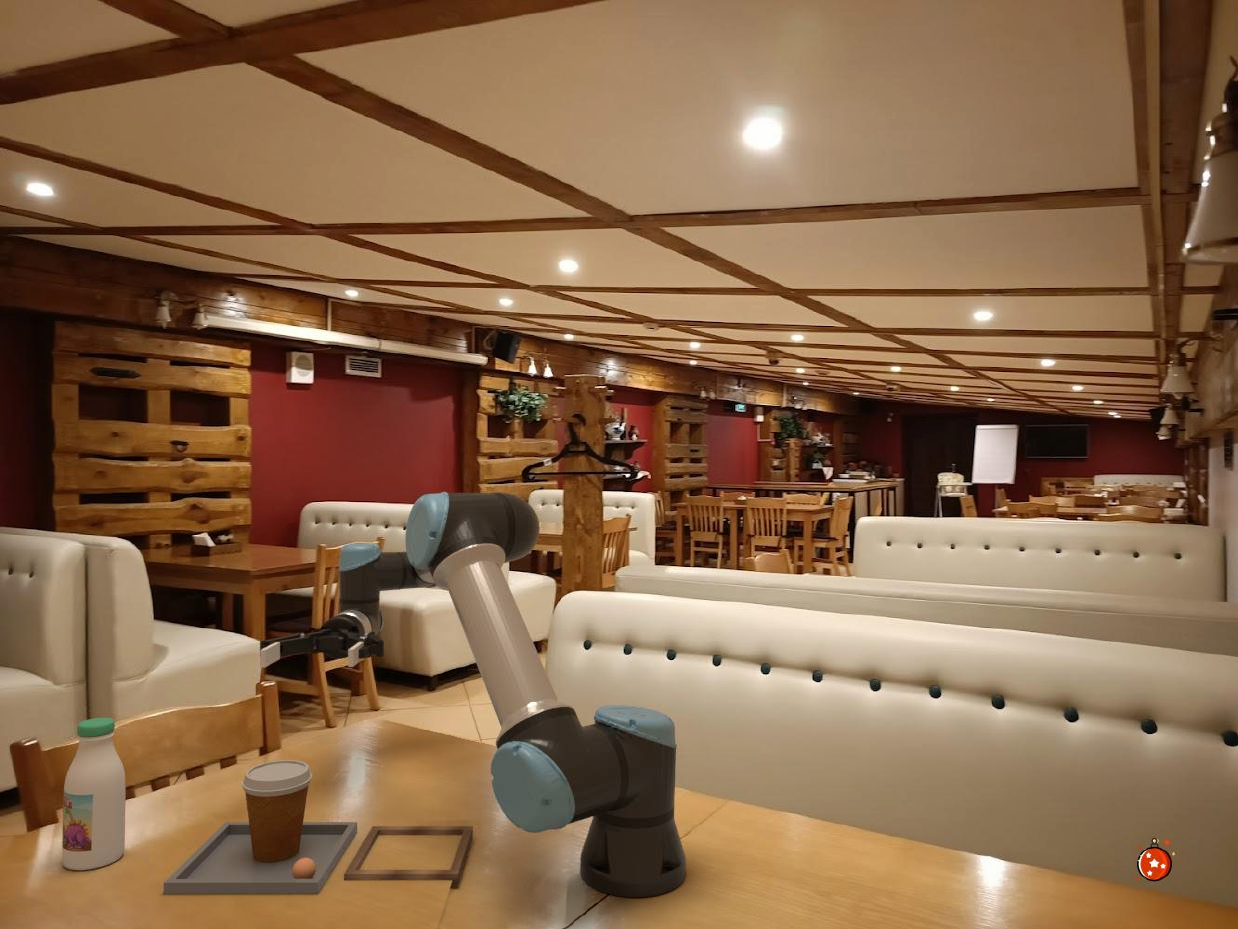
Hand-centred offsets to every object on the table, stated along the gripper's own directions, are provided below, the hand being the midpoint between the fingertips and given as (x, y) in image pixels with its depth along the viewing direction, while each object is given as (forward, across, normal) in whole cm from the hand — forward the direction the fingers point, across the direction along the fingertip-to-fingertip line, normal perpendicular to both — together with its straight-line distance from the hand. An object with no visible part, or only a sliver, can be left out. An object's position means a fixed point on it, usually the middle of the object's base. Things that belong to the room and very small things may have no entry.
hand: (306, 658), depth 134 cm
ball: (+18, -6, -26) cm, 32 cm away
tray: (+12, +1, -27) cm, 30 cm away
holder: (+10, -19, -28) cm, 35 cm away
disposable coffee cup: (+9, +1, -26) cm, 28 cm away
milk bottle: (+9, +27, -27) cm, 40 cm away
